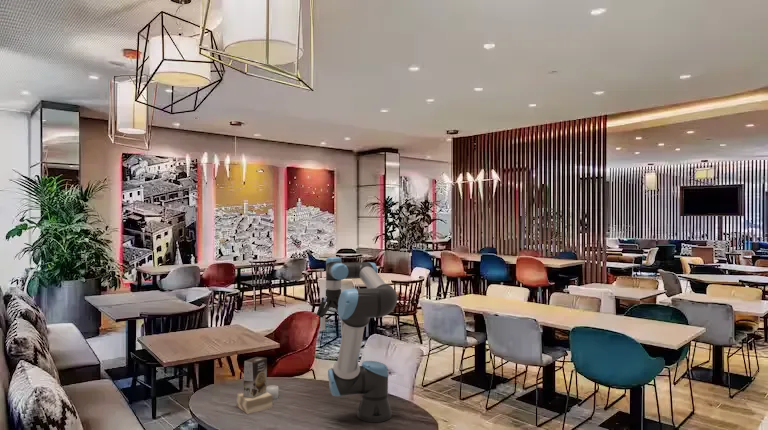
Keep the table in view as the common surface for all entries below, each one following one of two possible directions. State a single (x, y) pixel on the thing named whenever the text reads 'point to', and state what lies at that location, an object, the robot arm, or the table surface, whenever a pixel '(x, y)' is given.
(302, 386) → the table surface
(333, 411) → the table surface
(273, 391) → the white rounded dome
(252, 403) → the maple block
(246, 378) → the coffee box
